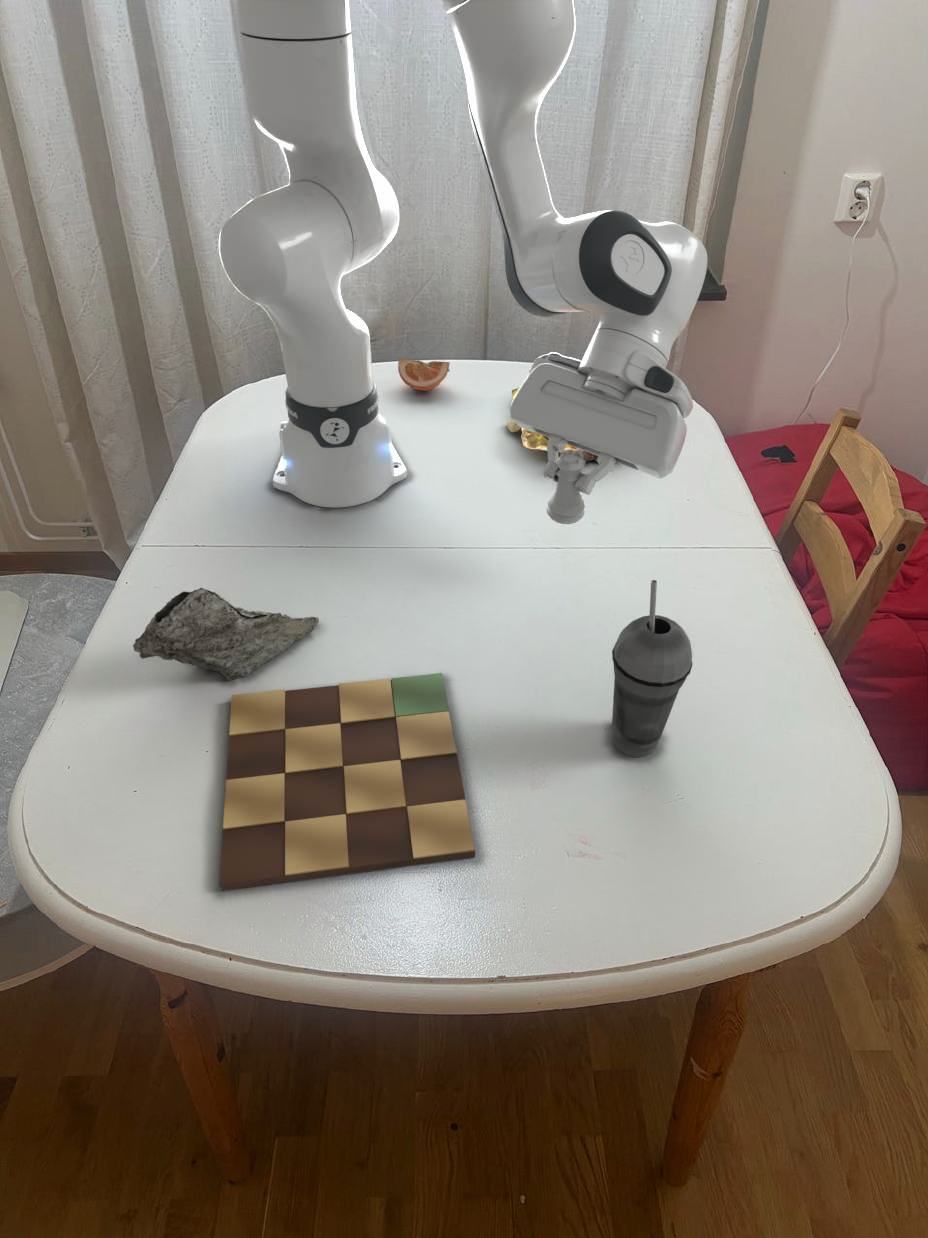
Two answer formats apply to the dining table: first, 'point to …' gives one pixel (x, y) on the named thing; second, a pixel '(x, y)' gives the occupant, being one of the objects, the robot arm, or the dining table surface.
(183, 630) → the concrete fragment
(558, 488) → the rook chess piece
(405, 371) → the fruit slice
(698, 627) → the dining table surface
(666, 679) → the beverage cup
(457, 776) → the board
